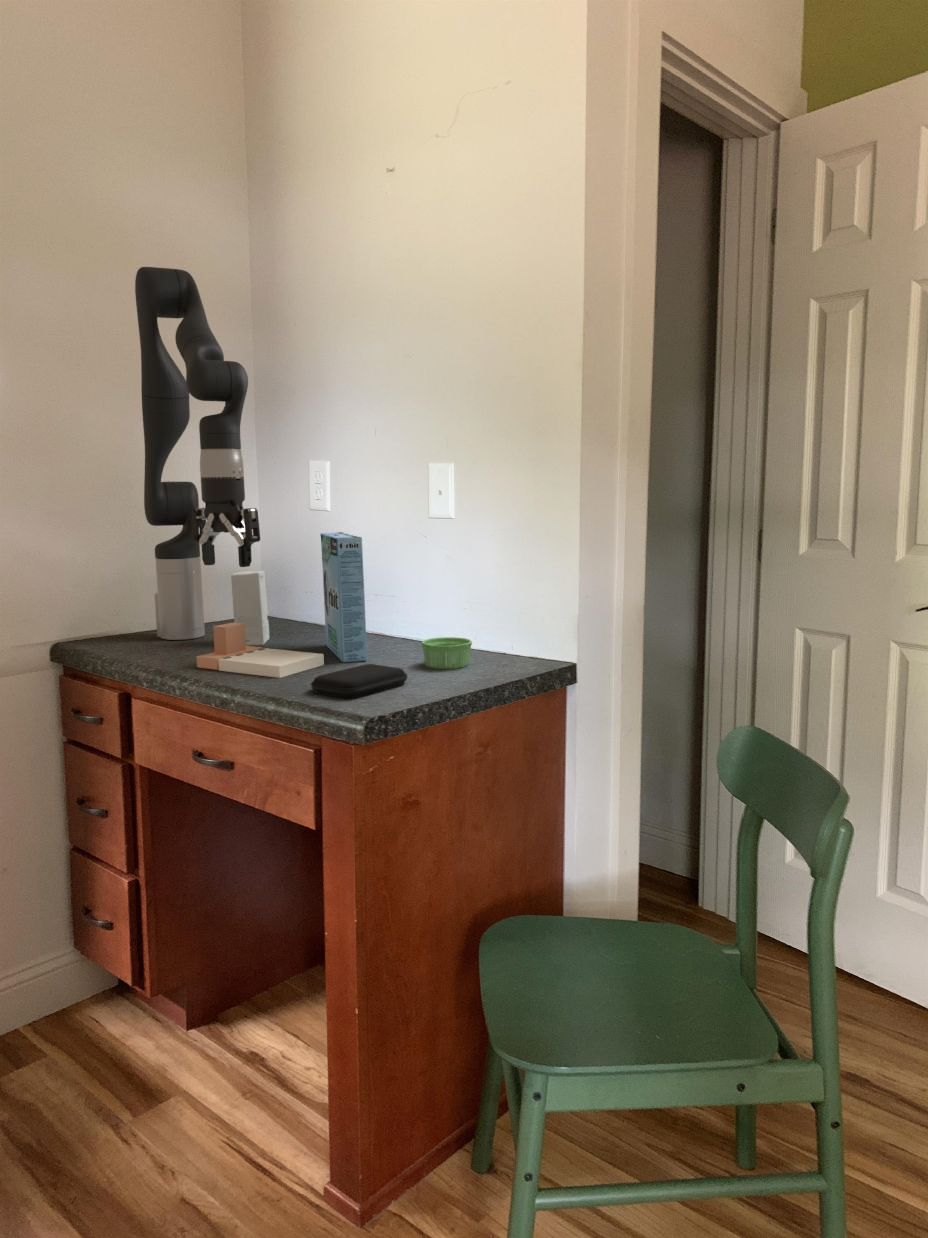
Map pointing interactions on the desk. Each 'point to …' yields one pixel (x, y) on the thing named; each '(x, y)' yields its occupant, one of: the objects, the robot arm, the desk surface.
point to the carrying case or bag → (358, 681)
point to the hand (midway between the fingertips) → (227, 565)
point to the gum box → (344, 596)
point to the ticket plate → (271, 662)
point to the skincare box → (251, 605)
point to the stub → (225, 645)
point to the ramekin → (446, 652)
